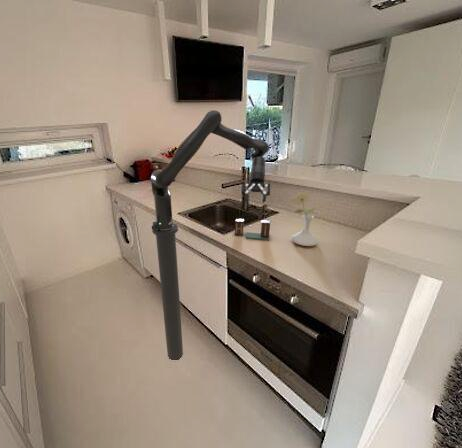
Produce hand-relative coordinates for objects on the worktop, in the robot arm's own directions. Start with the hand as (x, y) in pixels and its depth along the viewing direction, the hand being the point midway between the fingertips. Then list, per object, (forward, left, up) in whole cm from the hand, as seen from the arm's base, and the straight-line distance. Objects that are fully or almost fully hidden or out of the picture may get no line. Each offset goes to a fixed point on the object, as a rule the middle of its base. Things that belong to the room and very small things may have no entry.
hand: (254, 201), depth 126 cm
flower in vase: (+14, -21, -17) cm, 30 cm away
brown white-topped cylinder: (+1, -9, -16) cm, 18 cm away
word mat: (-2, -7, -17) cm, 18 cm away
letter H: (-9, -1, -17) cm, 19 cm away
